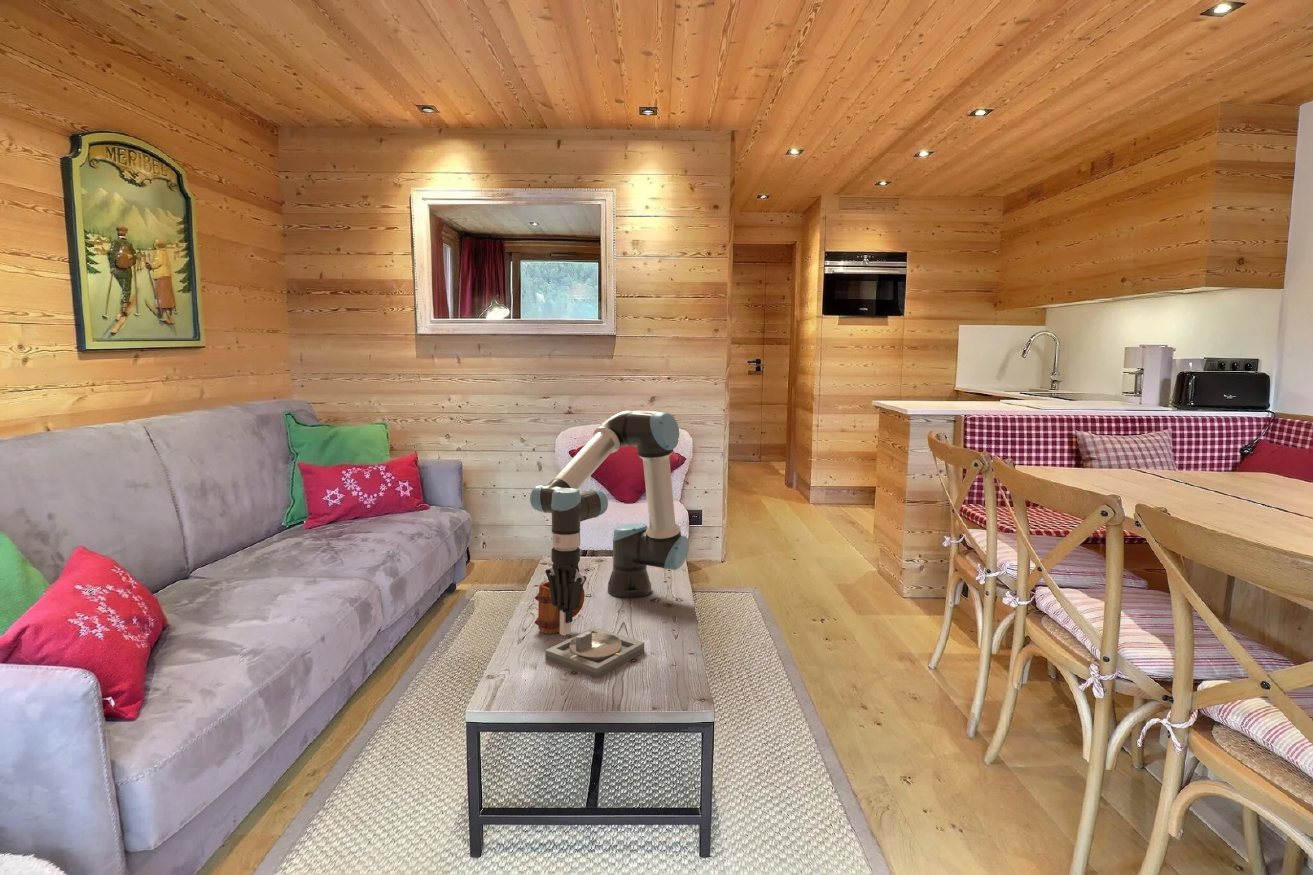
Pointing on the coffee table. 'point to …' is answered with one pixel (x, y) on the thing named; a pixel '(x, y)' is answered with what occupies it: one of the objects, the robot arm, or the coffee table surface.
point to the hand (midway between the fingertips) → (565, 633)
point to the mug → (550, 610)
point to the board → (593, 669)
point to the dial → (595, 646)
